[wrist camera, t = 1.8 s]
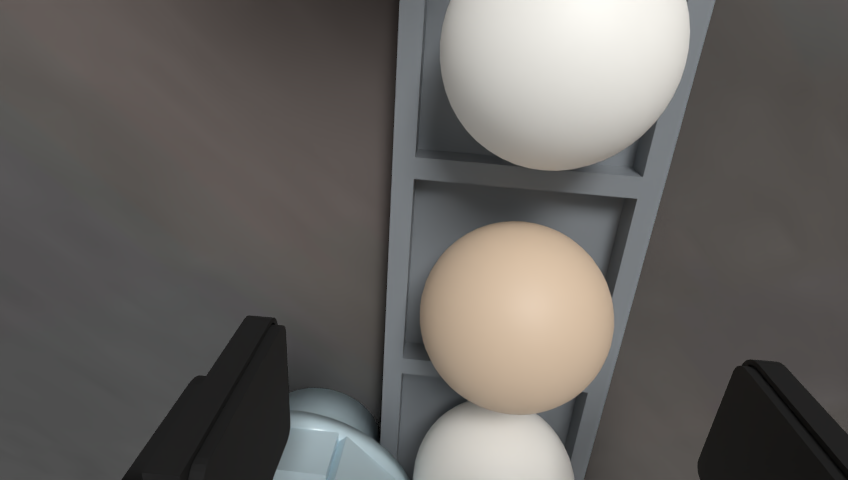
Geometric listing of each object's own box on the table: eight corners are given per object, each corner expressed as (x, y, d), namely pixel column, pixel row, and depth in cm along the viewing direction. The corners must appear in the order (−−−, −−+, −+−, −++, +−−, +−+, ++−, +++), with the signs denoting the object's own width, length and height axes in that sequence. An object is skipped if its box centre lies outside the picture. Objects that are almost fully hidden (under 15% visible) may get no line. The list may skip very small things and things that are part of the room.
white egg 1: (666, -62, 12) (787, -103, 8) (618, 148, 14) (690, 215, 10) (453, -77, 12) (445, -125, 8) (436, 132, 14) (422, 191, 10)
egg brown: (606, 203, 15) (667, 289, 10) (573, 346, 17) (612, 471, 12) (432, 187, 15) (418, 266, 10) (421, 330, 17) (405, 448, 13)
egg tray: (719, -111, 12) (749, -124, 11) (562, 500, 21) (569, 533, 19) (412, -130, 12) (405, -146, 11) (382, 480, 21) (377, 511, 20)
